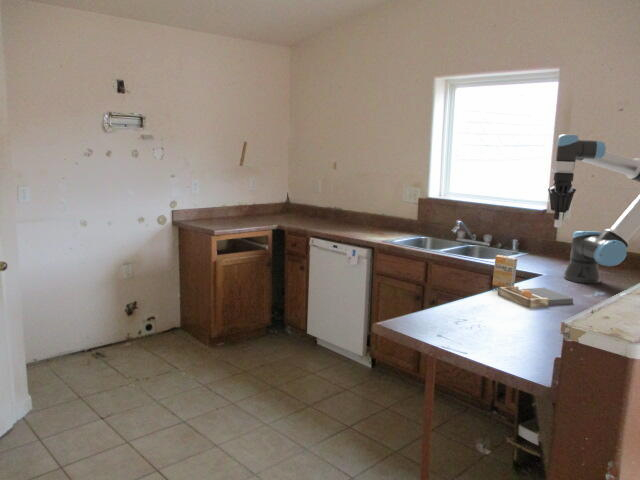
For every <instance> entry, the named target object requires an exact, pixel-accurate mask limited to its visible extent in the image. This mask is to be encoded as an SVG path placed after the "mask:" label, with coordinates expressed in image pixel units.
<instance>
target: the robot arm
mask: <svg viewBox="0 0 640 480" xmlns="http://www.w3.org/2000/svg"><path fill="white" fill-rule="evenodd" d="M556 146H557V149H556V157H555V164H554V171H555V172H554V174H553V181H554V183H553V184H552V185H553V186H552V187H549V188H547V189H548V190H547V191H548V193H549V201H550V202H549V203H550V210H551V211H552V212H554V216H553V219H554V222H553V223H554V224H553V227H554V228H557V229H561V228H562V225H563V220H564V217H565V213H567V212H568V211H569V210H570V207H571V203H572V200H573V197H574V194H575V192H576V191H577V188H574V187H573V184H572V183H573V181H574V176H575V175H574V172H575V168H576V161H578V162H583V163H586V164H590V165H593V166H596V167H599V168H602V169H605V170H609V171H611V172H616V173H617V174H622V175H625V177H626V178H627V179H630V180H633V181H635V182H637V183H638V182H639V183H640V157H635V158H631V157H629V156H626V155H625V156H624V155H621V154H620V153H615V152H612V151H608V150H607V146H606V143H605V142H603V141H602V140H588V139H587V140H584V139H583V140H581V139H579V135H577V134H560V135H559V136H558V140H557V144H556ZM639 229H640V193H639V194H638V196H636V198H635V199H634V200H633V201H632V202H631V204H630V205H629V206H628V207H627V208H626V209H625V211H624V212H623V213H622V214H621V215H620V217H618V219H617V220H616V221H615V223H613V224H612V225H611V227H610V228H605V229H603V230H602V231H592V230H591V231H588V230H578V231H574V232H573V235H572V239H571V240H572V242H571V250H570V257H569V263H568V265H567V267H566V269H565V271H564V273H563V278H564V279H565V280H567V281H570V282H574V283H575V282H576V283H580V284H599V283H600V282H601V276H600V271H599V266H598V265H601V266H605V267H615V266H617V265H620V264H621V263H622V262H623V261H624V260H625V258H626V257H627V256H628V255H627V254H628V253H627V252H628V247H629V246H630V244H629V240H630V239H631V238H632V237H633V235H634V234H635V233H636V232H637V231H638V230H639Z"/></svg>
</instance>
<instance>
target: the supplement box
mask: <svg viewBox="0 0 640 480" xmlns="http://www.w3.org/2000/svg"><path fill="white" fill-rule="evenodd" d="M494 259H495V260H494V266H493V267H494V269H493V275H492V276H493V277H492V286H495V287H512V286H515V281H516V275H517V274H516V272H517V266H518V265H517V264H518V257H513V256H507V255H501V254H497V255H495V258H494Z"/></svg>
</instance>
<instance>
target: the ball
mask: <svg viewBox="0 0 640 480" xmlns="http://www.w3.org/2000/svg"><path fill="white" fill-rule="evenodd" d="M521 296H524V297H526V298H529V299H531V298H532V293H531V292H530V291H529V290H524V291H523V292H522V293H521Z"/></svg>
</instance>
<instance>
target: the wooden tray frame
mask: <svg viewBox="0 0 640 480" xmlns="http://www.w3.org/2000/svg"><path fill="white" fill-rule="evenodd" d="M518 289H520V288H519V286H518V285H517V286H516V285H514V286H512V287H500V286H498V290H497V291H498V292H497V295H499V296H501V297H503V298H506V299H508V300H510V301H512V302H515V303H516V304H519V305H522V306H524V307H527V308H539V307H548V306H549V305H548V299H549V298H536V299H529V298H526V297H524V296H521V295H519V294H518Z"/></svg>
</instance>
